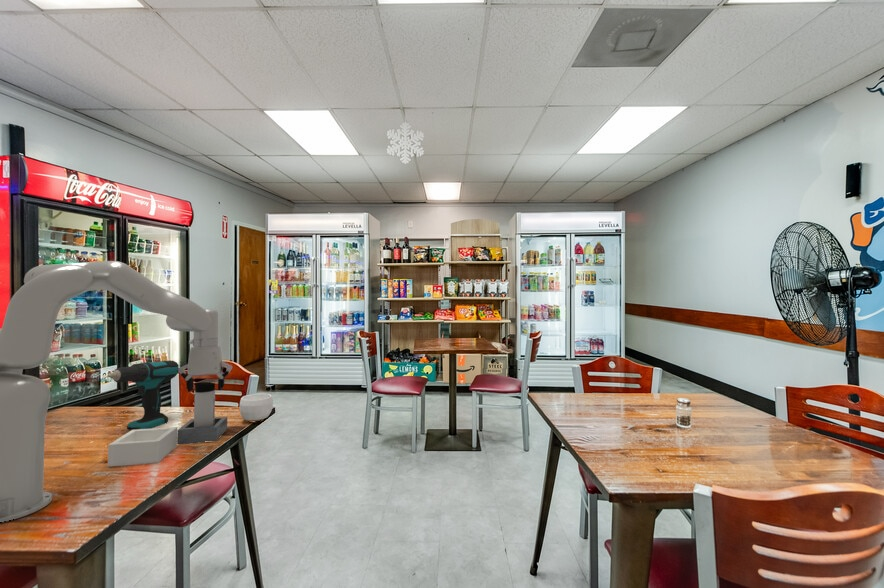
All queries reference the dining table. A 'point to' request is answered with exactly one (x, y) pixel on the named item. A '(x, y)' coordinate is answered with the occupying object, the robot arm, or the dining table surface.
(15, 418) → the robot arm
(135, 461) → the light grey square tray
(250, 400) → the cup
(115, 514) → the dining table surface
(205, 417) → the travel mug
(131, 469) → the dining table surface
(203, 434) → the socket block
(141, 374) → the power drill
